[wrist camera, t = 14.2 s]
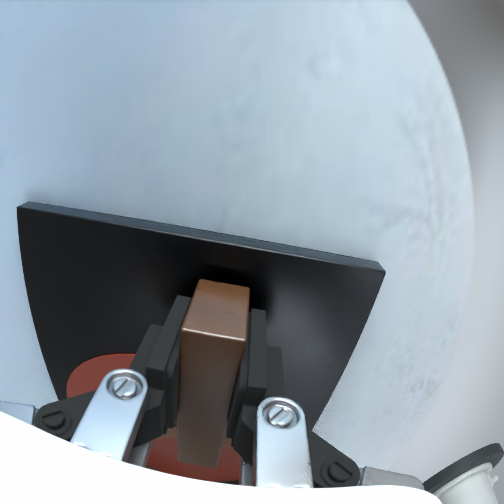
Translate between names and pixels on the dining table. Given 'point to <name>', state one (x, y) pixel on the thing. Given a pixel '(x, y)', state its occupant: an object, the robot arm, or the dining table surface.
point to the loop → (209, 370)
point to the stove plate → (184, 284)
